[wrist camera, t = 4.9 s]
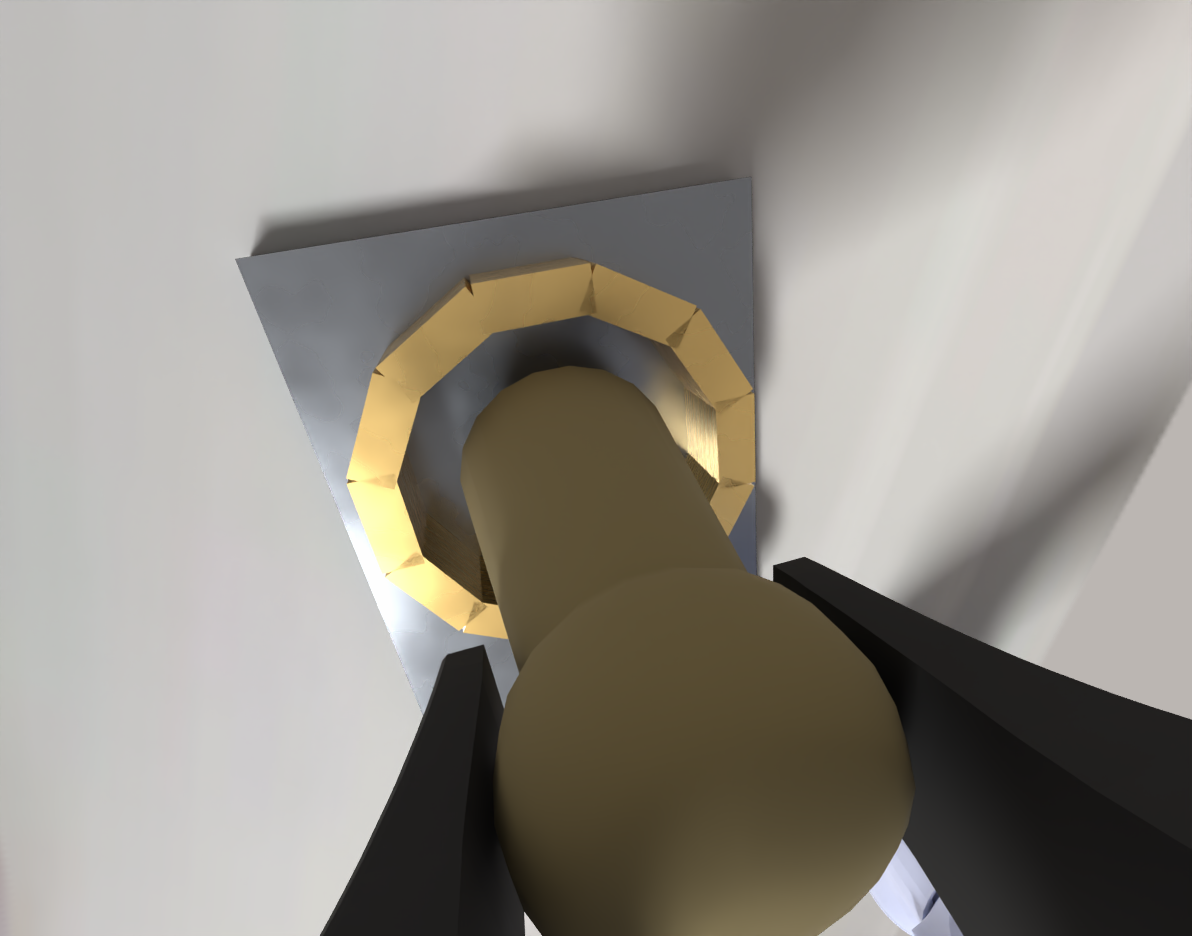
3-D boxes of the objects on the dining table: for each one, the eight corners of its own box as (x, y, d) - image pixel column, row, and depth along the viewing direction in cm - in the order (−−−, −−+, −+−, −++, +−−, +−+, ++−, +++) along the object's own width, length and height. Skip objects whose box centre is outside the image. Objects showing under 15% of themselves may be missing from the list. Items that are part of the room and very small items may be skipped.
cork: (594, 317, 14) (925, 564, 4) (706, 479, 16) (1062, 860, 7) (410, 461, 14) (297, 998, 4) (549, 595, 17) (669, 1107, 7)
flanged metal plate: (746, 627, 24) (788, 686, 21) (433, 717, 22) (429, 798, 19) (735, 179, 16) (800, 168, 13) (248, 256, 14) (191, 265, 11)
